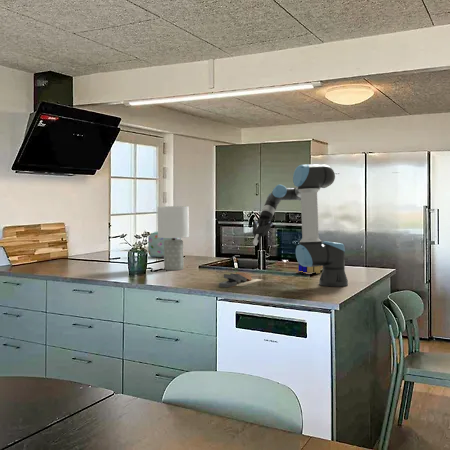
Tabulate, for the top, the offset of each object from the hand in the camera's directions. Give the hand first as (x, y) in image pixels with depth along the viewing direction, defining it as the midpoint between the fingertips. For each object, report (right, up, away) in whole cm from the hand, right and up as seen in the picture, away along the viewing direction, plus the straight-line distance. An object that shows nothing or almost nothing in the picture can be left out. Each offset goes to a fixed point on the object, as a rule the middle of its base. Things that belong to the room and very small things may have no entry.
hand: (254, 244), depth 305 cm
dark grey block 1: (-13, -20, -21) cm, 32 cm away
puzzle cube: (+35, -19, +23) cm, 46 cm away
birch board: (-8, -21, -12) cm, 26 cm away
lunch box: (-65, -15, +114) cm, 132 cm away
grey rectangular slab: (-11, -19, -18) cm, 28 cm away
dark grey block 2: (-7, -20, -12) cm, 24 cm away
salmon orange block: (-4, -19, -7) cm, 21 cm away
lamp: (-51, -19, +45) cm, 70 cm away
